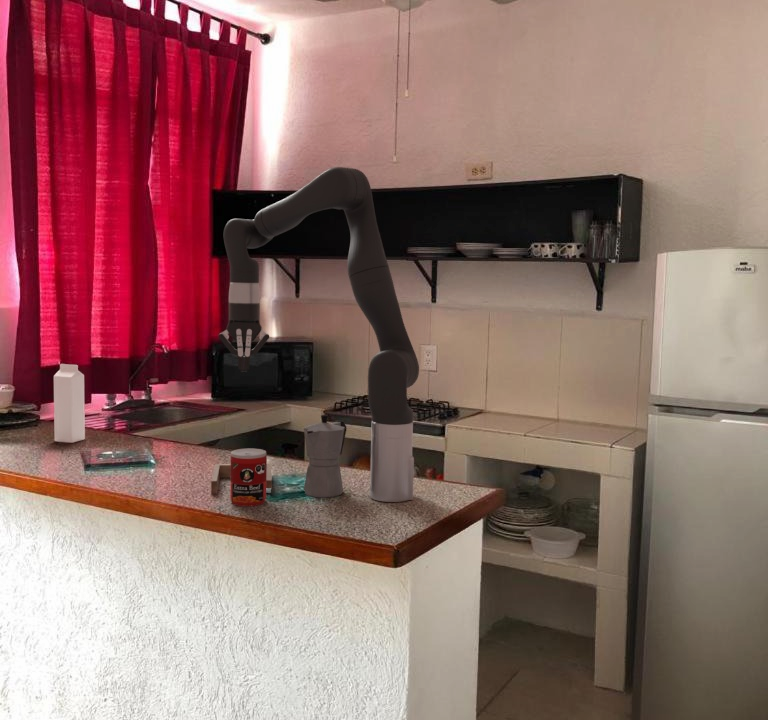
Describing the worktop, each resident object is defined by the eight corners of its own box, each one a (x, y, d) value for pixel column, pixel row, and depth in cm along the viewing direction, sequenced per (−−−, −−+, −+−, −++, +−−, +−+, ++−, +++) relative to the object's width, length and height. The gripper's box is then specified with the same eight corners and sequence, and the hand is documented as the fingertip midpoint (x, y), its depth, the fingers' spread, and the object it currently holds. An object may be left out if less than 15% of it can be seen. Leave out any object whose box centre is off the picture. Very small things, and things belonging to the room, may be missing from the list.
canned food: (228, 506, 184) (228, 455, 182) (232, 496, 192) (232, 448, 190) (264, 506, 184) (265, 455, 183) (267, 497, 192) (268, 448, 191)
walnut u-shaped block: (270, 475, 212) (270, 463, 212) (271, 493, 195) (271, 480, 195) (214, 476, 210) (214, 464, 210) (211, 494, 193) (211, 481, 193)
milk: (67, 437, 254) (66, 362, 252) (85, 439, 252) (84, 363, 250) (54, 441, 248) (53, 364, 246) (72, 443, 246) (71, 365, 244)
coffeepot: (324, 502, 189) (325, 420, 187) (289, 495, 194) (290, 416, 192) (361, 487, 202) (362, 411, 201) (327, 482, 207) (328, 407, 205)
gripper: (216, 301, 208) (215, 373, 210) (271, 302, 210) (271, 373, 212) (217, 300, 215) (217, 369, 217) (271, 301, 217) (270, 370, 219)
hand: (243, 371), depth 214 cm, fingers closed
